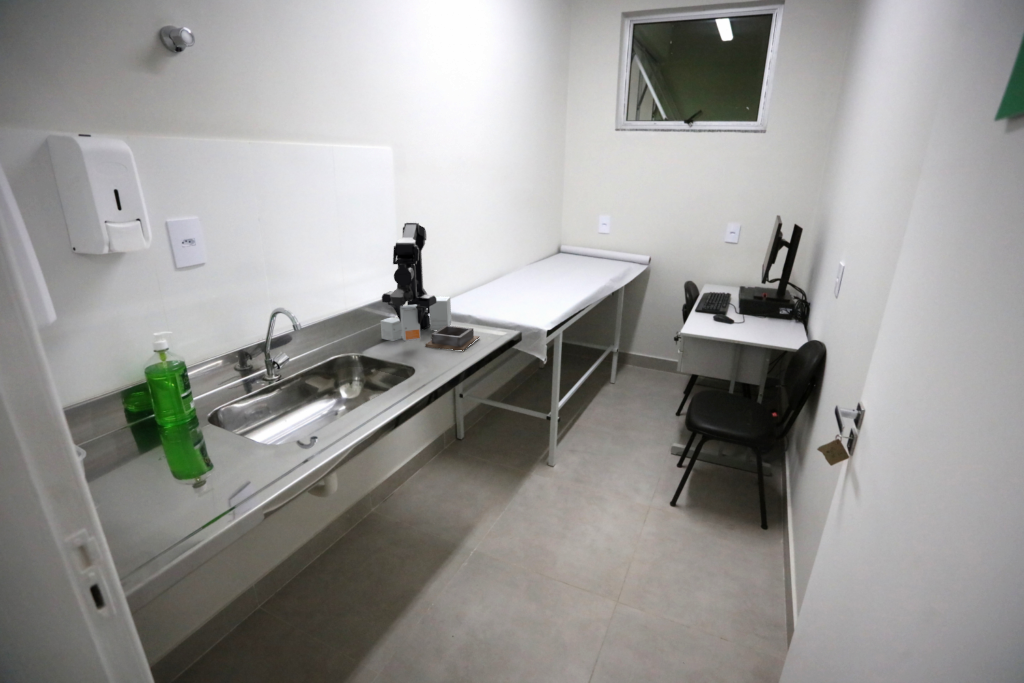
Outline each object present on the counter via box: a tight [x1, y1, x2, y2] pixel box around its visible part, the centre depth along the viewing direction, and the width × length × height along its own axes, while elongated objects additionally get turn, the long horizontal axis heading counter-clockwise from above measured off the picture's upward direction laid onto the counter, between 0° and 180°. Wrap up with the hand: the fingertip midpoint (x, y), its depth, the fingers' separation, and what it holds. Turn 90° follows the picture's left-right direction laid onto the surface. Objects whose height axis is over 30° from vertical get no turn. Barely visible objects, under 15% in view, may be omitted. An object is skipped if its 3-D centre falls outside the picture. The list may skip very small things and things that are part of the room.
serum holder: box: [424, 325, 480, 352], centre depth 188 cm, size 15×15×4 cm
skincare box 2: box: [400, 304, 422, 342], centre depth 179 cm, size 6×4×12 cm
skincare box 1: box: [380, 317, 403, 342], centre depth 192 cm, size 6×6×7 cm
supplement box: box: [429, 296, 452, 331], centre depth 202 cm, size 7×7×13 cm
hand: (410, 322), depth 179 cm, fingers closed on skincare box 2, 7 cm apart
